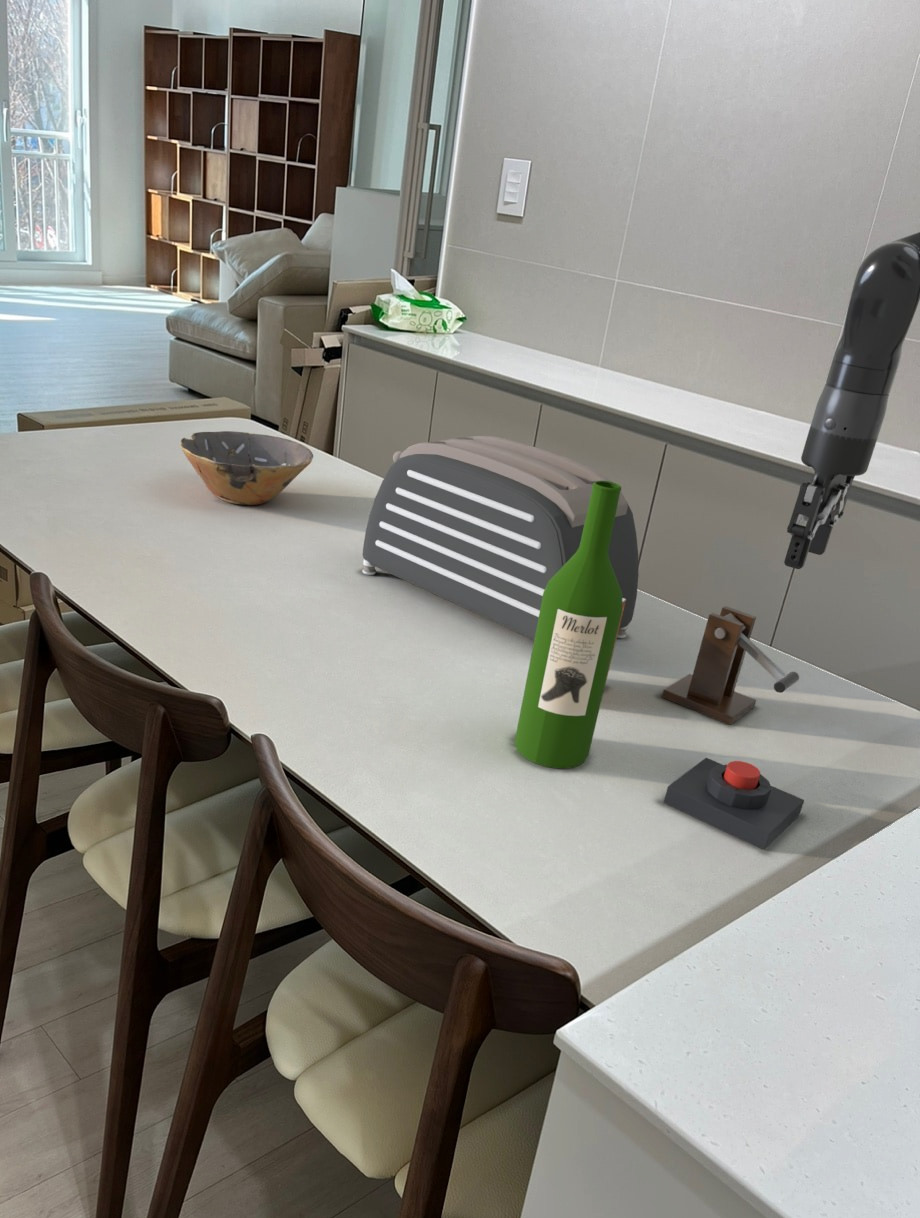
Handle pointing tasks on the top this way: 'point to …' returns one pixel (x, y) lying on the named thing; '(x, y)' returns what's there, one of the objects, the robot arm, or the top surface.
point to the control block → (734, 804)
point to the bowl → (245, 464)
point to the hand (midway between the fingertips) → (804, 559)
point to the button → (742, 775)
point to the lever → (766, 662)
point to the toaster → (490, 526)
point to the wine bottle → (573, 645)
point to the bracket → (717, 670)
